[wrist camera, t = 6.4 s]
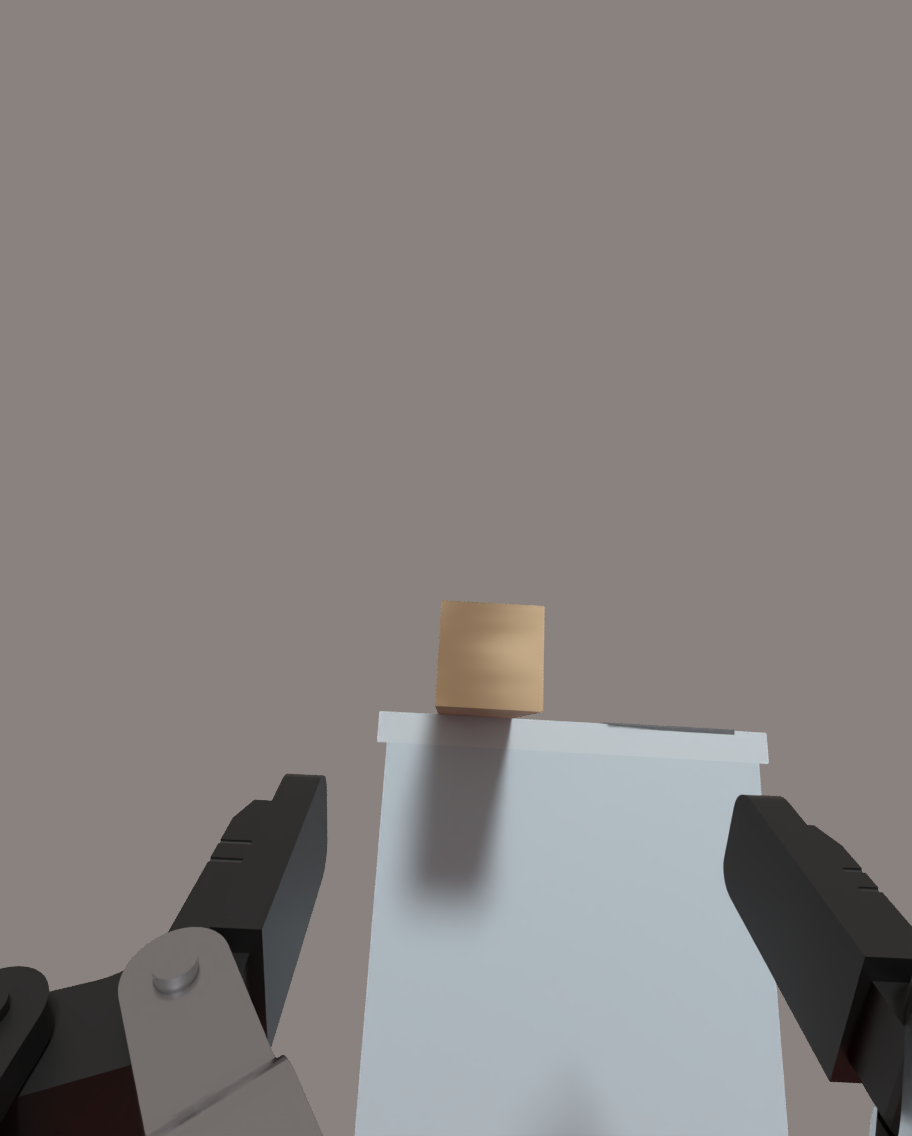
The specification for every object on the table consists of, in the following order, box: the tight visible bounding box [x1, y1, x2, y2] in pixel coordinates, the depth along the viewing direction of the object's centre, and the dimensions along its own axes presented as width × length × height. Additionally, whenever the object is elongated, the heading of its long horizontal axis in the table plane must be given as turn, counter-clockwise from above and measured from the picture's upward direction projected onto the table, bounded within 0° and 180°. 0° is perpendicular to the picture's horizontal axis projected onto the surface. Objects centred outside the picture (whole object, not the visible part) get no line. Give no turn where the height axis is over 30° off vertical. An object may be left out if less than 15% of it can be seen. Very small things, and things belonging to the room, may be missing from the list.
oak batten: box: [435, 601, 544, 719], centre depth 27 cm, size 3×22×3 cm, turn 1°
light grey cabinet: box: [355, 711, 788, 1136], centre depth 26 cm, size 17×13×32 cm
